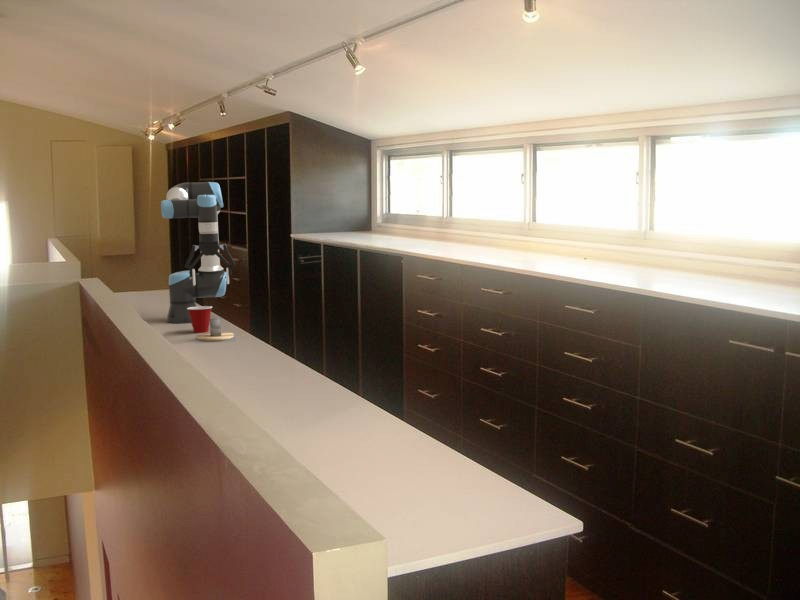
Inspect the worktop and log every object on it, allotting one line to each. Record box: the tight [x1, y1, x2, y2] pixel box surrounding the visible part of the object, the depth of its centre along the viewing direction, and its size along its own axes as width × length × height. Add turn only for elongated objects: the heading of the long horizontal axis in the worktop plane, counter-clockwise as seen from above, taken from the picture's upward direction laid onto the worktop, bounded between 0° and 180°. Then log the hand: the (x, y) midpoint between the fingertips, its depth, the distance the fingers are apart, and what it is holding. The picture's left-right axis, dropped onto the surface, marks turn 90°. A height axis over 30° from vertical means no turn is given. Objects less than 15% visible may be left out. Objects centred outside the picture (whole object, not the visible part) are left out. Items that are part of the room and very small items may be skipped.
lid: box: [198, 317, 234, 343], centre depth 331 cm, size 15×15×8 cm
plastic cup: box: [187, 305, 213, 334], centre depth 346 cm, size 11×11×12 cm
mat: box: [194, 332, 237, 344], centre depth 332 cm, size 17×16×1 cm
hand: (211, 284), depth 328 cm, fingers open, 13 cm apart
